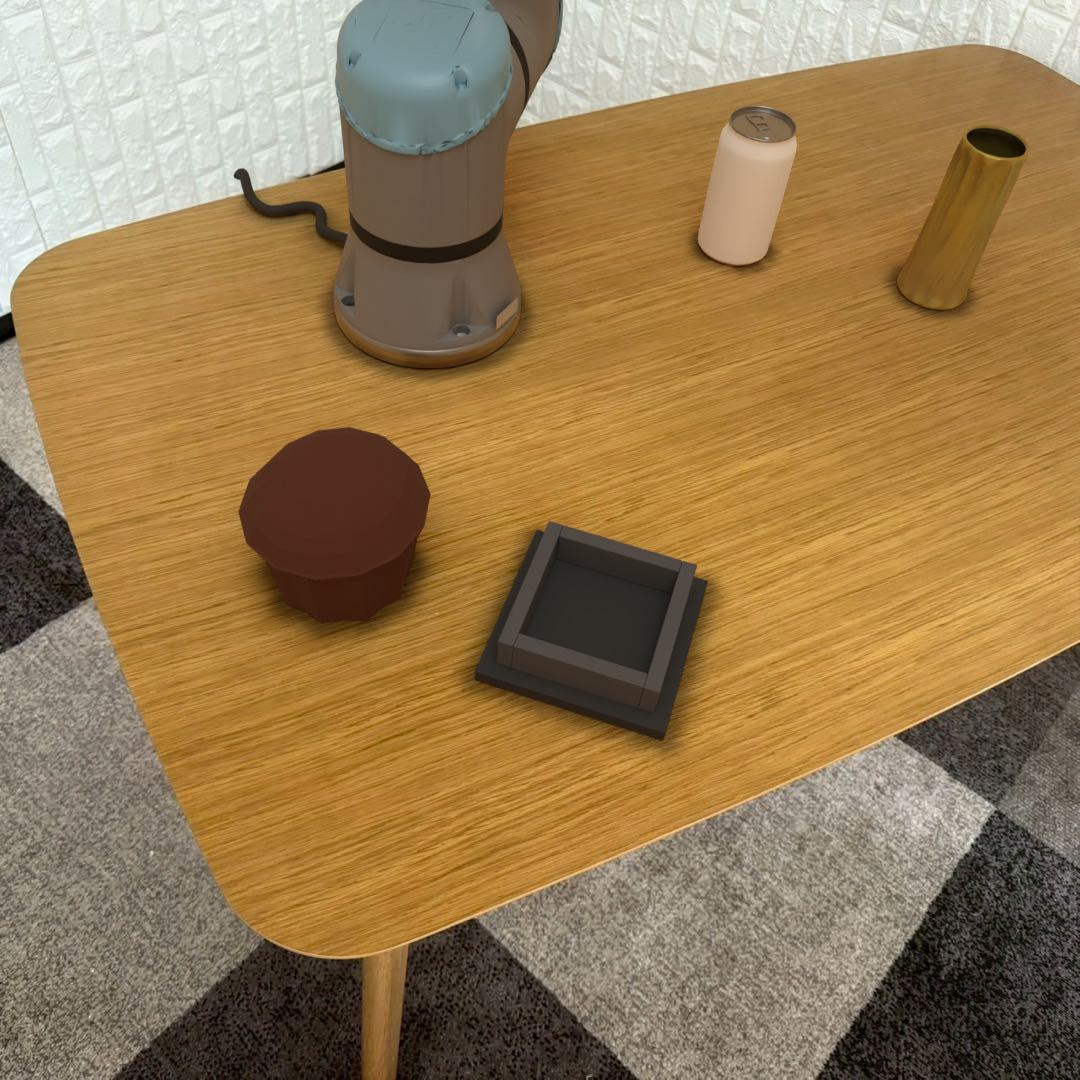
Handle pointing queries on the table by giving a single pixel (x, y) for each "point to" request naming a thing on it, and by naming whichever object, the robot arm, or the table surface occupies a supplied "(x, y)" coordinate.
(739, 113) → the can
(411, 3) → the robot arm
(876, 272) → the table surface
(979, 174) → the vase
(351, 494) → the muffin
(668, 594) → the socket pad
